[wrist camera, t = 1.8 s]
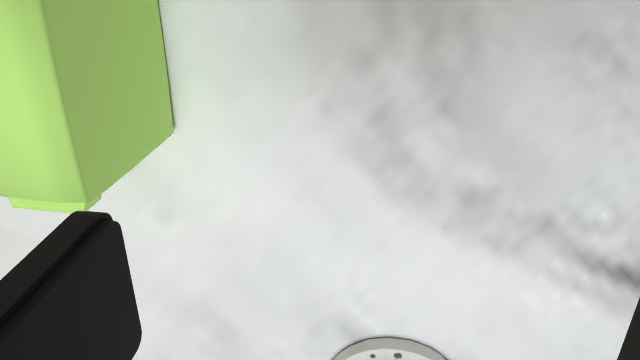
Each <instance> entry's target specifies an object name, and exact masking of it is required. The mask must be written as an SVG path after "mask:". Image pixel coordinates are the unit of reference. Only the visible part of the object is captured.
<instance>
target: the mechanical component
mask: <svg viewBox="0 0 640 360" xmlns="http://www.w3.org/2000/svg"><path fill="white" fill-rule="evenodd" d="M333 360H446V359H445V358H443V357H442V356H441V355H440V354H439V353H438V352H436V351H434V350H433V349H431V348H429V347H427V346H425V345H422V344H419V343H416V342H413V341H411V340H404V339H396V338H379V339H368V340H365V341H362V342H360V343H357V344H354V345H351V346H349V347H348V348H346V349H345V350H343V351H342V352H340V353H339V354H338V355H337V356H336V357H335V358H334V359H333Z"/></svg>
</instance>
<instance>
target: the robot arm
mask: <svg viewBox="0 0 640 360" xmlns="http://www.w3.org/2000/svg"><path fill="white" fill-rule="evenodd" d="M141 335H142V331H141V325H140V320H139V315H138V310H137V305H136V300H135V295H134V290H133V285H132V280H131V275H130V270H129V265H128V260H127V255H126V250H125V245H124V240H123V235H122V230H121V226H120V224H119V223H118V222H116V221H113V219H112V217H111V216H110V214H108V213H103V212H90V211H75V212H73V213H72V214H71V215H70V216H68V217H67V218H66V219H65V220H64V221H63V222H62V223H61V224H60V225H59V226H58V227H57V228H56V229H55V230H54V231H52V232H51V233H50V234H49V235H48V236H47V237H46V238H45V239H44V240H43V241H42V242H41V243H40V244H39V245H38V246H36V247H35V248H34V249H33V250H32V251H31V252H30V253H29V254H28V255H27V256H26V257H25V258H24V259H23V260H22V261H20V262H19V263H18V264H17V265H16V266H15V267H14V268H13V269H12V270H11V271H10V272H9V273H8V274H7V275H6V276H4V277H3V278H2V279H1V280H0V360H132V358H133V357H134V355H135V353H136V352H137V350H138V348H139V345H140V342H141ZM617 360H640V298H639V301H638V304H637V307H636V309H635V312H634V315H633V318H632V320H631V323H630V326H629V329H628V331H627V334H626V337H625V340H624V342H623V345H622V348H621V351H620V353H619V356H618V359H617Z"/></svg>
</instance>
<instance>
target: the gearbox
mask: <svg viewBox="0 0 640 360" xmlns="http://www.w3.org/2000/svg"><path fill="white" fill-rule="evenodd" d="M172 133H173V121H172V111H171V102H170V94H169V85H168V77H167V69H166V60H165V52H164V45H163V37H162V30H161V23H160V15H159V9H158V2H157V0H0V196H4V197H9V200H10V202H11V204H12V206H13V207H14V208H24V209H34V210H44V211H54V212H64V213H73V212H75V211H87V210H88V209H90V208H91V207H92V206H93V205H94V204H95V203H96V202H98V201H99V200H100V198H101V194H102V193H103V192H104V191H106V190H107V189H108V188H109V187H110V186H112V185H113V184H114V183H115V182H116V181H118V180H119V179H120V178H121V177H122V176H124V175H125V174H126V173H127V172H128V171H130V170H131V169H132V168H133V167H135V166H136V165H137V164H138V163H139V162H140V161H142V160H143V159H144V158H145V157H146V156H147V155H149V154H150V153H151V152H152V151H153V150H154V149H156V148H157V147H158V146H159V145H160V144H161V143H163V142H164V141H165V140H166V139H167V138H168V137H169V136H171V134H172Z"/></svg>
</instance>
